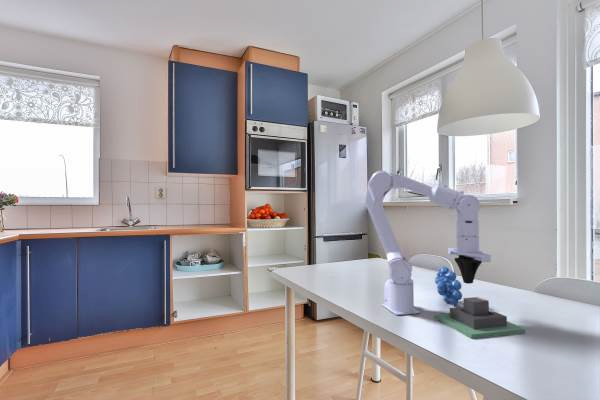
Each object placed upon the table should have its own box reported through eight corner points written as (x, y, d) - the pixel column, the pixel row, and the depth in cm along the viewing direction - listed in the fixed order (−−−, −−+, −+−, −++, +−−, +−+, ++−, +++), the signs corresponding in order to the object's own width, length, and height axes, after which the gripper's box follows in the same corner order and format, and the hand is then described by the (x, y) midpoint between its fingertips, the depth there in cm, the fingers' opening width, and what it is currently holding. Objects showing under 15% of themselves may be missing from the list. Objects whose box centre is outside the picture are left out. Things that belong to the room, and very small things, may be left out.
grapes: (425, 299, 106) (425, 264, 106) (442, 297, 107) (441, 263, 108) (449, 310, 94) (449, 271, 95) (467, 308, 96) (467, 270, 96)
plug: (463, 323, 84) (463, 297, 84) (478, 322, 85) (478, 296, 85) (473, 328, 80) (473, 301, 80) (489, 327, 81) (488, 300, 81)
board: (434, 318, 88) (434, 305, 88) (482, 313, 91) (481, 301, 91) (471, 338, 74) (470, 323, 74) (525, 332, 77) (525, 318, 77)
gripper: (500, 238, 82) (501, 288, 81) (461, 233, 96) (462, 276, 95) (477, 238, 80) (478, 290, 80) (442, 234, 94) (442, 277, 94)
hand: (468, 282), depth 88 cm, fingers closed
